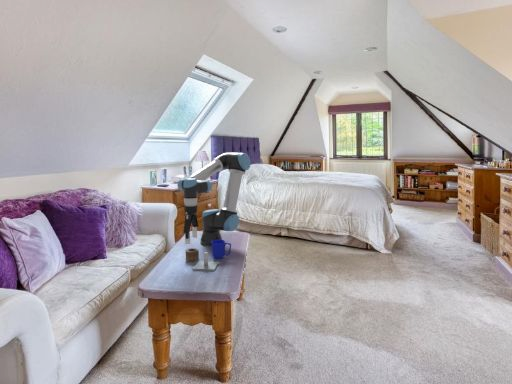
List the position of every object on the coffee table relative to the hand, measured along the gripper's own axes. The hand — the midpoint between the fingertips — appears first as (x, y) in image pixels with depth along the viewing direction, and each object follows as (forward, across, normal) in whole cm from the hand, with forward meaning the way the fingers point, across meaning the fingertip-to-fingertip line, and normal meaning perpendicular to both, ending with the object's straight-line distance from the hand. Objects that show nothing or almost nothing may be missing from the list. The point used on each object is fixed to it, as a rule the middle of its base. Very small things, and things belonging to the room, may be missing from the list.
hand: (191, 240), depth 192 cm
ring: (+12, 0, 0) cm, 12 cm away
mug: (+12, -6, +17) cm, 21 cm away
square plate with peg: (+12, +10, +11) cm, 19 cm away
